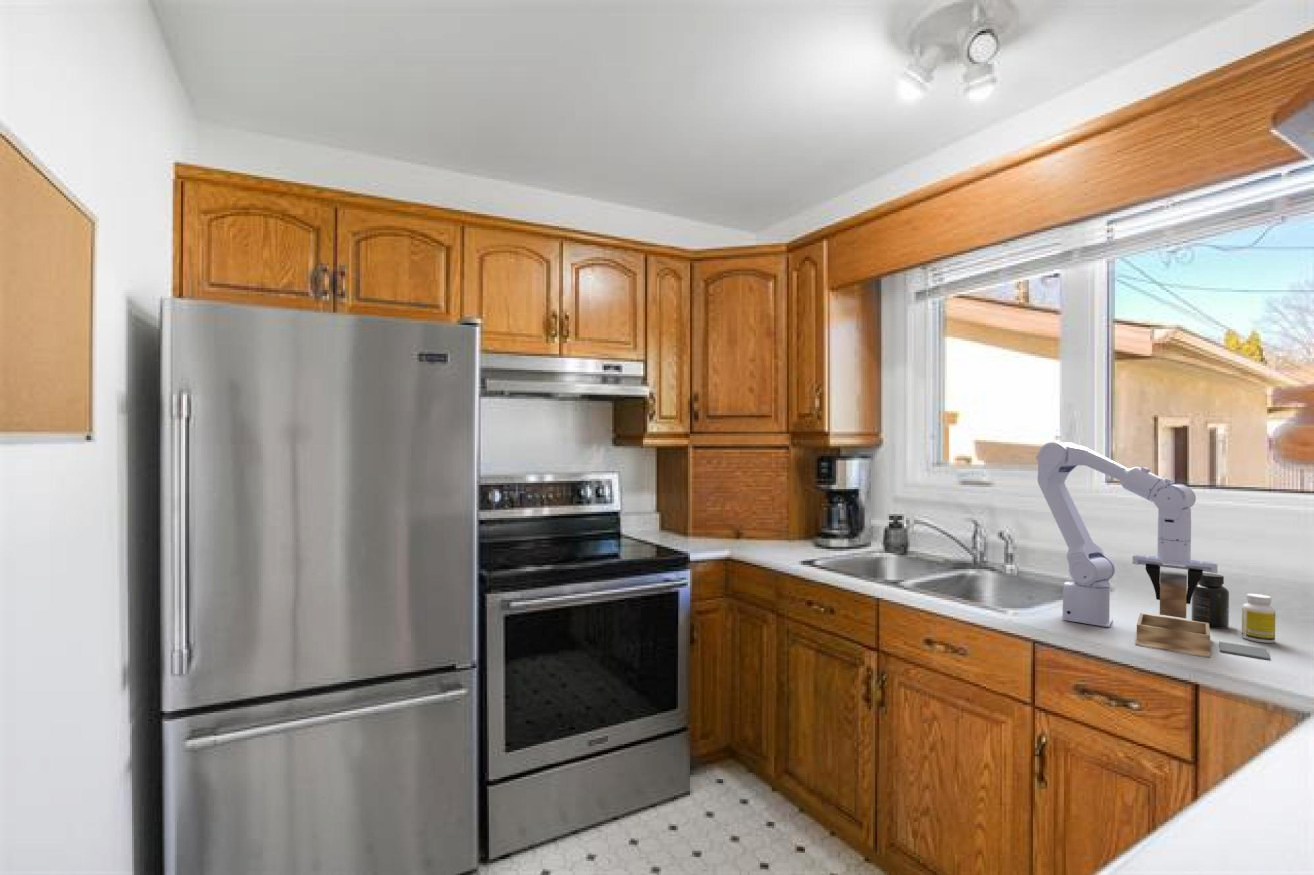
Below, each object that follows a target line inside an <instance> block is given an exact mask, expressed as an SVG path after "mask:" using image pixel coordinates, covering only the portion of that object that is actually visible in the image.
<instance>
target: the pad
mask: <svg viewBox="0 0 1314 875" xmlns="http://www.w3.org/2000/svg"><path fill="white" fill-rule="evenodd" d="M1218 646H1219V652H1220V653H1223V654H1224V653H1225V654H1230V655H1231V654H1232V655H1238V656H1243V657H1249V658H1254V659H1260V660H1267V661H1271V660H1270V659H1271V658H1270V656H1269V655H1270V654H1269V652H1268V649H1267V648H1263V647H1257V646H1251V645H1245V644H1244V645H1243V644H1238V643H1231V642H1226V641H1218Z"/></svg>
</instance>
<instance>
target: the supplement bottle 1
mask: <svg viewBox="0 0 1314 875" xmlns="http://www.w3.org/2000/svg"><path fill="white" fill-rule="evenodd" d="M1224 579H1225V577H1224V576H1223V575H1221V574H1218V573H1211V572H1203V576H1202V577H1201V579H1200V580H1199V582H1198V584H1197V585H1196V587H1195V589H1194V592H1193V594H1192V597H1191V621H1197V622H1204V623H1209V628H1213V629H1227V628H1229V625H1230V624H1229V623H1230V591H1229V590H1228V589H1227V587H1225V586H1223V585H1224V584H1225V582H1224V581H1225V580H1224Z"/></svg>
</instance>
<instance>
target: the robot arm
mask: <svg viewBox="0 0 1314 875" xmlns="http://www.w3.org/2000/svg"><path fill="white" fill-rule="evenodd" d="M1035 459H1036V461H1037V463H1038V465H1037V467H1038V468H1037V484H1038V486H1039V488H1040V490H1041V493H1042V495H1043V497H1044V498H1045V501H1046V503H1047V505H1048V507H1049V509H1050V512H1051V513H1052V515H1053V516H1052V517H1053V518H1054V519H1055V522H1056V524H1057V526H1058V528H1059V530H1060V534H1062V537H1063V538H1064V541H1065V543H1066V546H1067V548H1068V551H1067V553H1066V559H1067V562H1068V566H1069V567H1068V572H1069V575H1070V577H1071V579H1072V580H1073V582H1072V581H1064V583H1063V588H1062V589H1063V591H1062V606H1061V607H1062V609H1061V610H1062V617H1061V619H1062V620H1063V621H1069V622H1073V623H1078V624H1079V623H1080V624H1086V625H1091V626H1099V627H1103V628H1104V627H1105V628H1110V627H1111V625H1112V624H1113V618H1111V617H1110V611H1111V610H1110V606H1111V605H1110V602H1111V598H1110V597H1111V594H1110V593H1111V591H1110V589H1111V585H1110V579H1112V578H1113V576H1114V575H1115V572H1116V569H1115V564H1114V563H1113V561H1112V560H1111V559H1110V558H1109V557H1107V556H1106V554H1104V551H1103V549H1102V548H1101V547H1100V546H1098V544H1096V543H1095V542H1094V541H1093V539H1092V538H1091V535H1090V533H1089V530H1088V529H1087V526H1086V525H1085V523H1084V521H1083V518H1082V517H1081V515H1080V513H1079V511H1078V508H1077V506H1076V504H1075V502H1074V500H1073V498H1072V496H1071V494H1070V491H1069V490H1068V487H1067V486H1066V484H1065V482H1066V480H1067V478H1068V476H1069V474H1070V473H1071V472H1072V471H1073V470H1074V469H1076V468H1077V466H1085V467H1089V468H1091V469H1093V470H1095V471H1097V472H1100V473H1102V474H1105V475H1107V476H1108V477H1112V478H1114V479H1116V480H1118V481H1120V484H1121V486H1122V489H1125V490H1127V491H1129V492H1130V493H1133V494H1135V495H1136V496H1139V497H1141V498H1143V499H1145V500H1148V501H1149V502H1152V503H1153V504H1154V505H1155V506H1156V508H1157V510H1158V514H1157V515H1158V516H1157V551H1156V553H1157V554H1156V555H1155V556H1154V555H1145V554H1144V555H1141V554H1133V555H1132V565H1143V566H1145V568H1144V569H1145V571H1146V573H1147V575H1148V577H1149V578H1150V580H1151V581H1150V582H1151V584H1152V586H1153V589H1154V592H1155V600H1156V601H1160V573H1161V567H1162V568H1171V569H1179V570H1180V569H1181V570H1187V597H1186V605H1187V604H1188V605H1191V604H1192V594H1193V592H1194V589H1195V587H1196V585H1197V584H1198V582H1199V580H1200V579H1201V577H1202V576H1203V573H1211V574H1218V563H1217V562H1212V561H1211V562H1210V561H1209V562H1208V561H1202V560H1194V559H1191V557H1192V556H1191V553H1192V552H1191V548H1192V545H1191V544H1192V509H1191V508H1192V507H1193V506H1194V505H1195V503H1196V494H1195V492H1194V491H1193V490H1192V489H1191V487H1188V486H1187V485H1186V484H1183V483H1174V484H1173V482H1174V480H1173V479H1171V478H1169V477H1167V478H1163V477H1161V476H1159V475H1157V474H1154V473H1153V472H1151V468H1148V467H1146V466H1142V467H1139V466H1134V467H1131V468H1129V467H1126V466H1124V465H1122V464H1120V463H1118V462H1117V461H1114V460H1112V459H1110V458H1108V457H1107V456H1104V455H1102V454H1100V453H1098V452H1096V451H1094V450H1093V449H1090V448H1089V447H1086V446H1084V445H1079V444H1077V443H1075V442H1071V441H1069V442H1055V441H1052V442H1050V441H1049V442H1046V443H1045V444H1043V445H1042V447H1041V448H1040V449H1039V451H1038V453H1037V454H1036V457H1035Z"/></svg>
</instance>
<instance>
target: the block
mask: <svg viewBox="0 0 1314 875" xmlns="http://www.w3.org/2000/svg"><path fill="white" fill-rule="evenodd" d="M1187 588H1188V572H1187V573H1186V572H1177V571H1170V570H1169V571H1168V570H1160V600H1159V616H1165V617H1172V618H1179V619H1187V604H1186V597H1187Z"/></svg>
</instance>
